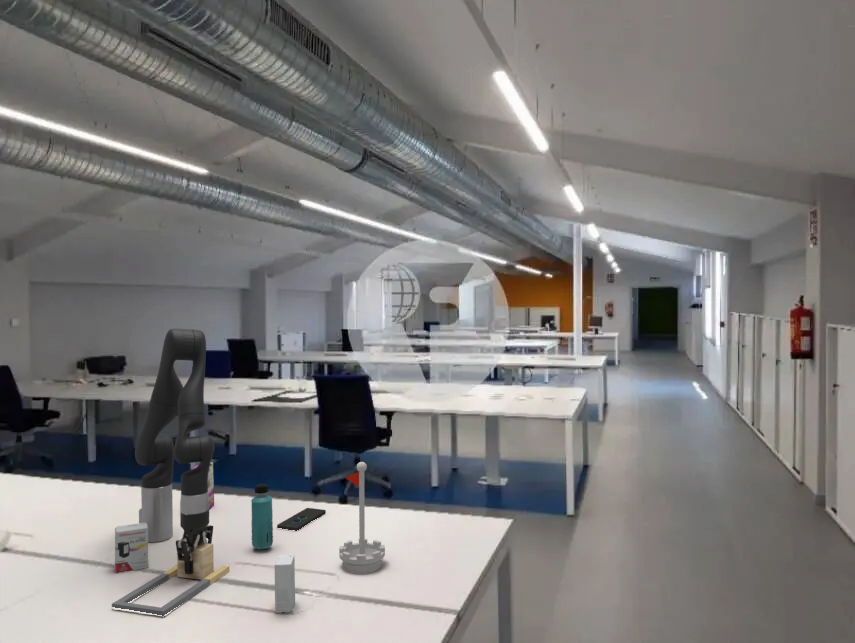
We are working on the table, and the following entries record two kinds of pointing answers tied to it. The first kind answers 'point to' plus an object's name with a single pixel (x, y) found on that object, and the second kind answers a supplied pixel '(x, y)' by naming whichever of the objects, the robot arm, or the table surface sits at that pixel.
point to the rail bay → (173, 603)
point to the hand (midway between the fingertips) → (195, 569)
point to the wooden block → (198, 562)
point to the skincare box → (284, 583)
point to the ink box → (131, 547)
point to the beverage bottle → (262, 518)
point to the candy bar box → (210, 485)
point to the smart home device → (301, 519)
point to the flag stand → (361, 537)
